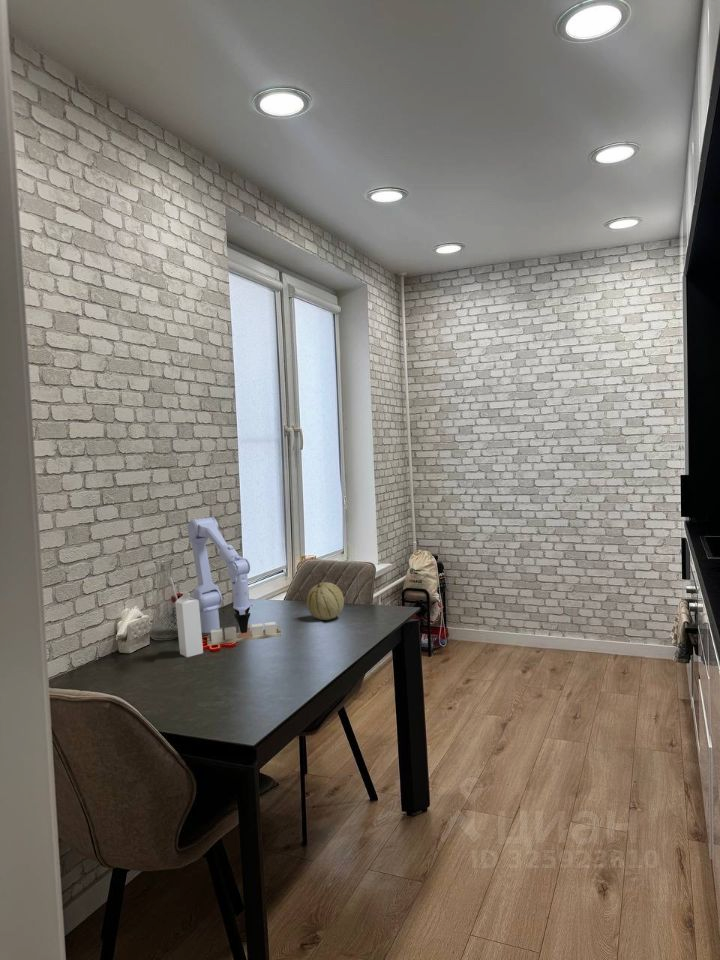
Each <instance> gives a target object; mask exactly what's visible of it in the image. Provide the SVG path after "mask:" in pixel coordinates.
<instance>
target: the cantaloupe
mask: <svg viewBox="0 0 720 960" xmlns="http://www.w3.org/2000/svg"><path fill="white" fill-rule="evenodd" d="M344 598H345V597H344V595H343V592H342V590H341V589H340V588H339V587H338V586H337V585H336V584H334V583H332V582H328V581H327V582H326V581H325V582H324V581H323V582H319V583H318V584H316V585H314V586H313V587H311V588H310V590H309V591H308V592H307V596H306V608H307V610H308V612H309V613H310V615H311V616H312V617H313V618H315V619H317V620H319V621H330V620H333V619H335V618H336V617H337V616H339V615H340V614H341V612H342V611H343V608H344V605H345V599H344Z"/></svg>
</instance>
